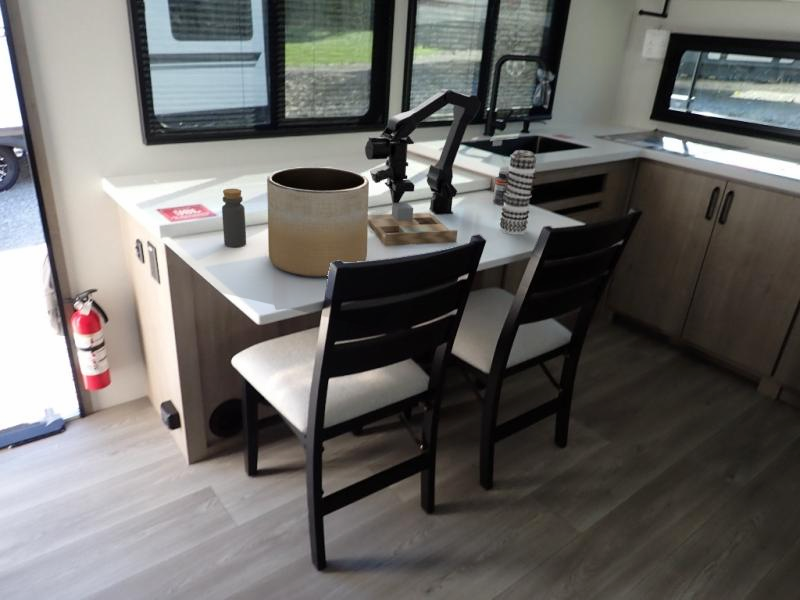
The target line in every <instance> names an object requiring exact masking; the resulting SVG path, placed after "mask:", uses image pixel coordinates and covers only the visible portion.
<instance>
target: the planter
mask: <svg viewBox="0 0 800 600" xmlns="http://www.w3.org/2000/svg"><path fill="white" fill-rule="evenodd" d="M369 185H370V180H369V179H368V178H367V177H366V176H365V175H363V174H361V173H358V172H356V171H355V172H354V171H351V170H346V169H341V168H337V167H336V168H335V167H323V166H322V167H320V166H303V167H302V166H300V167H291V168H285V169H281V170H276V171H274V172H272V173H270V174H269V175H268V176H267V179H266V188H267V193H266V194H267V231H268V233H267V235H268V236H267V238H268V239H267V240H268V242H267V243H268V257H269V260H270V262H271V264H273V265H274V266H275V267H277V268H278V269H279V270H282V271H283V272H286V273H288V274H291V275H295V276H300V277H308V278H328V277H327V275H328V271H329V267H330V263H331V262H333V261H337V260H341V261H343V262H357V261H365V260H367V255H368V227H369V225H368V215H369V195H370V194H369V192H370V191H369V189H370V188H369ZM365 262H366V261H365Z"/></svg>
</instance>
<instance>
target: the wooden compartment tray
mask: <svg viewBox="0 0 800 600" xmlns="http://www.w3.org/2000/svg"><path fill="white" fill-rule="evenodd" d="M369 226H370V227H369ZM368 227H369V228H370V229H371V230H372V232H373V231H374V232H375V233H374V232H373V233H374V234H375V236H376V237H378V239H379V240H380V241H381V242H382V244H383V245H384V246H385V247H394V246H411V245H410V244H416V245H433V244H447V243H457V240H458V230H457V229H449V228H448V227H447V226H446V225H445V224H444V223H443V222H441V221H440V220H439V219H438V218H437V217H435V216H434V215H433V214H432V213H430V212H420V213H419V212H417V213H415V212H413V220H411V221H397V220H396V219H395V218H394V217H393V216H392V213H391V214H390V213H389V214H368Z"/></svg>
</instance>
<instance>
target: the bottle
mask: <svg viewBox="0 0 800 600" xmlns="http://www.w3.org/2000/svg"><path fill="white" fill-rule="evenodd" d="M222 193H223V196H222V202H223V203H224V204H223V206H222V207H221V213H222V227H223V241H224V245H225V247H228V248H242V247H244V246H246V245H247V230H246V227H247V226H246V215H245V214H246V210H245V206H244V205H243V204H242V202H243V201H244V200H243V196H242V190H241V189H240V188H239V189H238V188H227V189H224V190H223V191H222Z"/></svg>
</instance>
